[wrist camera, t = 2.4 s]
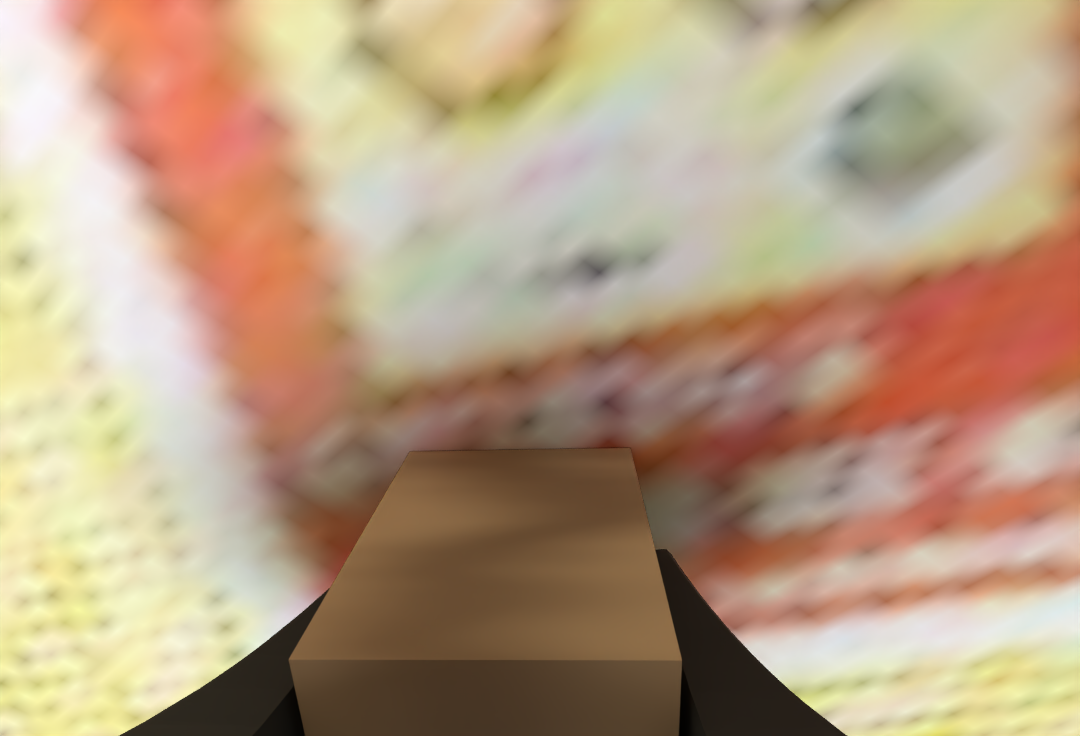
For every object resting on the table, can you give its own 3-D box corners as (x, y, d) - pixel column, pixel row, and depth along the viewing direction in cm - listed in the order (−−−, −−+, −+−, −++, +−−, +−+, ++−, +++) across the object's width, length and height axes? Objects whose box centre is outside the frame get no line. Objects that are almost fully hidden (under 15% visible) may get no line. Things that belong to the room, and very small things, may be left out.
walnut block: (630, 447, 13) (682, 661, 7) (628, 629, 14) (670, 924, 9) (409, 451, 13) (288, 659, 7) (431, 629, 15) (344, 915, 9)
